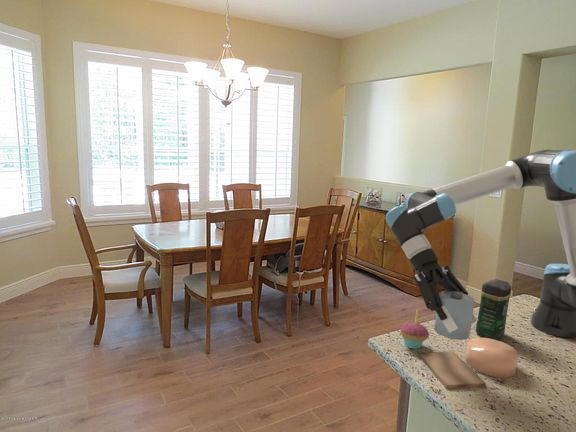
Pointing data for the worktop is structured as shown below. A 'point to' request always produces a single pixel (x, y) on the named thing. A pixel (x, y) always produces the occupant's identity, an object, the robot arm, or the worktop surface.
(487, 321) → the coffee jar
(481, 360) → the peach round dome
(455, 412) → the worktop surface
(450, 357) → the mat
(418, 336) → the cupcake
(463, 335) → the blue-grey knobbed jar
